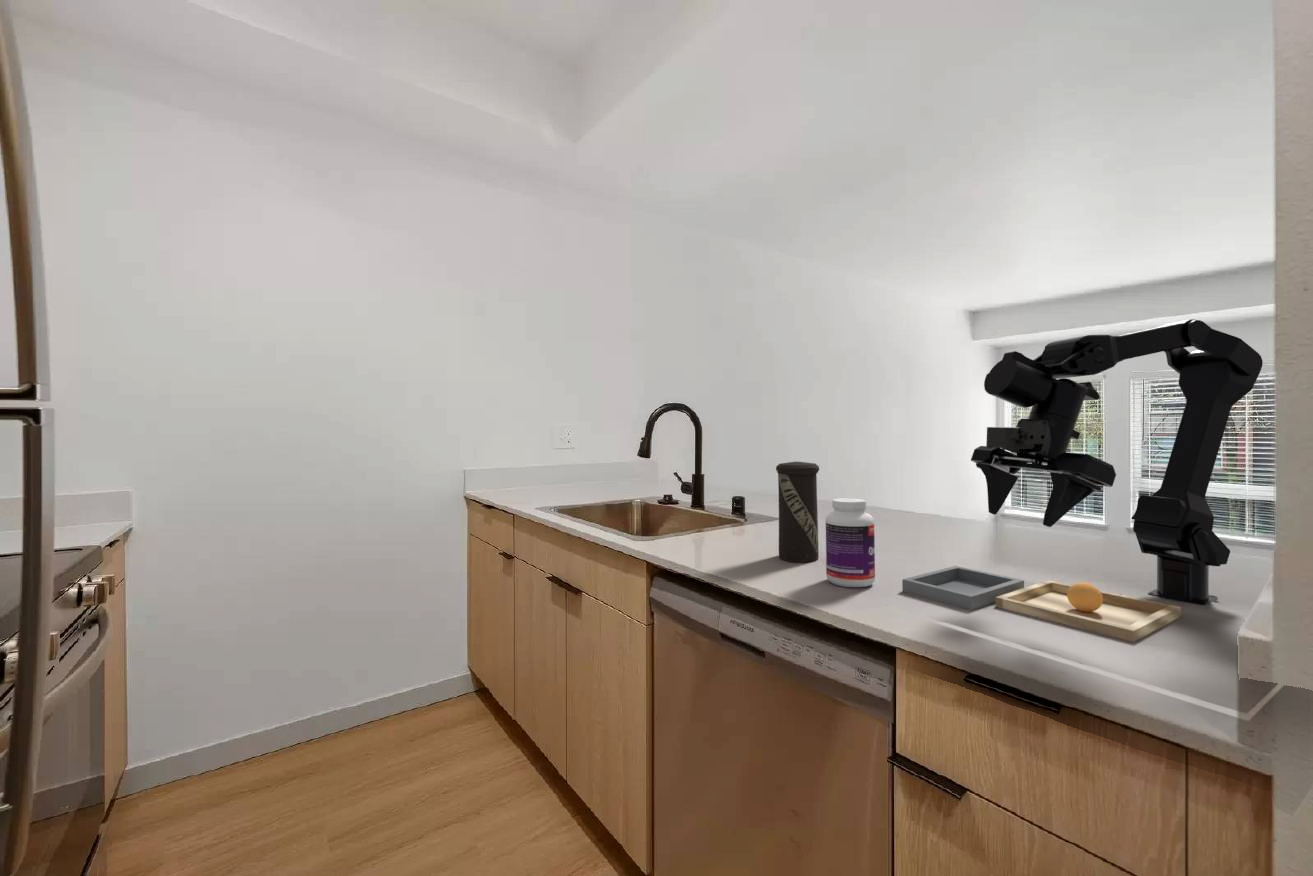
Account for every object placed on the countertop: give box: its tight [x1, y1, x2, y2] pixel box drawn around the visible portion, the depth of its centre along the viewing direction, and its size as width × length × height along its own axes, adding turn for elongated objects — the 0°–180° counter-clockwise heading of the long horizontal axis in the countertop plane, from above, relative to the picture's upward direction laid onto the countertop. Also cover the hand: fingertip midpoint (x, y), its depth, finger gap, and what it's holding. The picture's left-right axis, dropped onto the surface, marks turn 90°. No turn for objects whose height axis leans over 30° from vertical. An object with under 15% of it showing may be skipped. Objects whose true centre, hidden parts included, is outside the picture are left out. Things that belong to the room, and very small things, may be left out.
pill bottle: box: [825, 497, 876, 588], centre depth 95 cm, size 8×8×14 cm
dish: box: [994, 579, 1182, 643], centre depth 77 cm, size 16×16×2 cm
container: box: [775, 461, 820, 563], centre depth 113 cm, size 9×9×20 cm
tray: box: [901, 565, 1025, 611], centre depth 87 cm, size 15×11×2 cm
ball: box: [1067, 581, 1103, 612], centre depth 77 cm, size 4×4×4 cm
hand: (1017, 519), depth 80 cm, fingers open, 9 cm apart
